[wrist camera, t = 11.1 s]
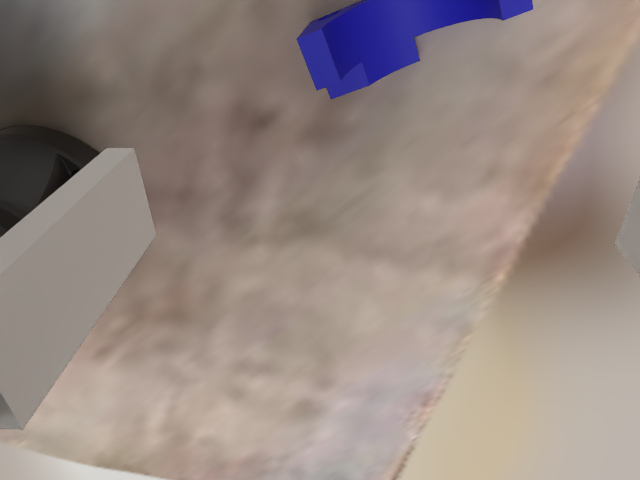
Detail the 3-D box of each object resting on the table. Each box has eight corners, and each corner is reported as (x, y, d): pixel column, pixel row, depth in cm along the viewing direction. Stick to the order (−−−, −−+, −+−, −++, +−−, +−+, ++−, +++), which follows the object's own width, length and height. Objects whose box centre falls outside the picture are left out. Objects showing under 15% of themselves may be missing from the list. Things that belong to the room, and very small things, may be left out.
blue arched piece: (334, 86, 33) (326, 114, 28) (310, 21, 31) (296, 39, 26) (512, 20, 30) (537, 38, 25) (498, -58, 28) (523, -56, 23)
